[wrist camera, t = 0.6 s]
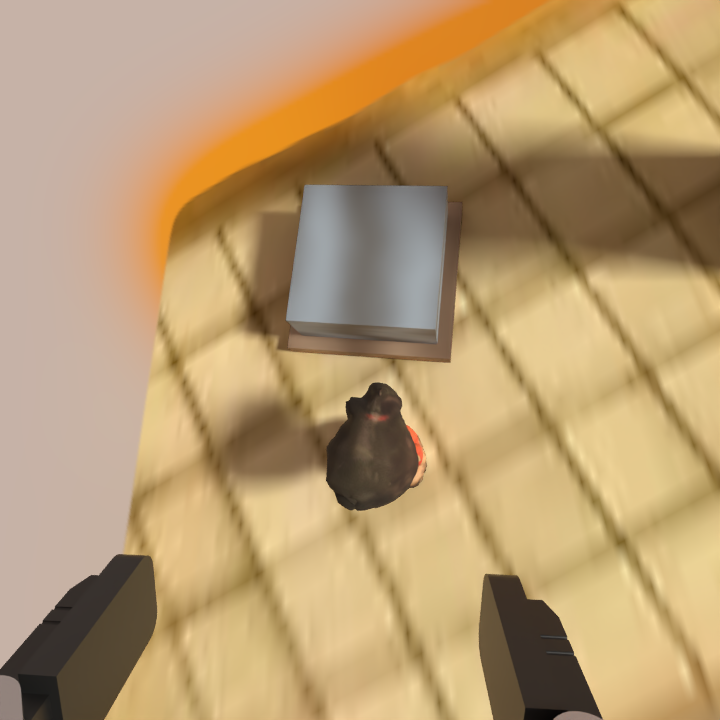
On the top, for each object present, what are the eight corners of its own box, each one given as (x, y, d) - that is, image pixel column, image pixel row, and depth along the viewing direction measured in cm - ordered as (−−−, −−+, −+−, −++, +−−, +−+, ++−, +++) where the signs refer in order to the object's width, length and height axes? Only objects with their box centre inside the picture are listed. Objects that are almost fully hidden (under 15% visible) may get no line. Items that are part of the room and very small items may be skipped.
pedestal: (462, 210, 40) (463, 172, 35) (450, 362, 38) (450, 345, 33) (311, 207, 43) (293, 172, 38) (292, 351, 40) (269, 333, 35)
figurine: (335, 428, 39) (285, 408, 27) (405, 398, 38) (385, 366, 27) (366, 511, 37) (327, 528, 25) (440, 481, 37) (434, 485, 25)
